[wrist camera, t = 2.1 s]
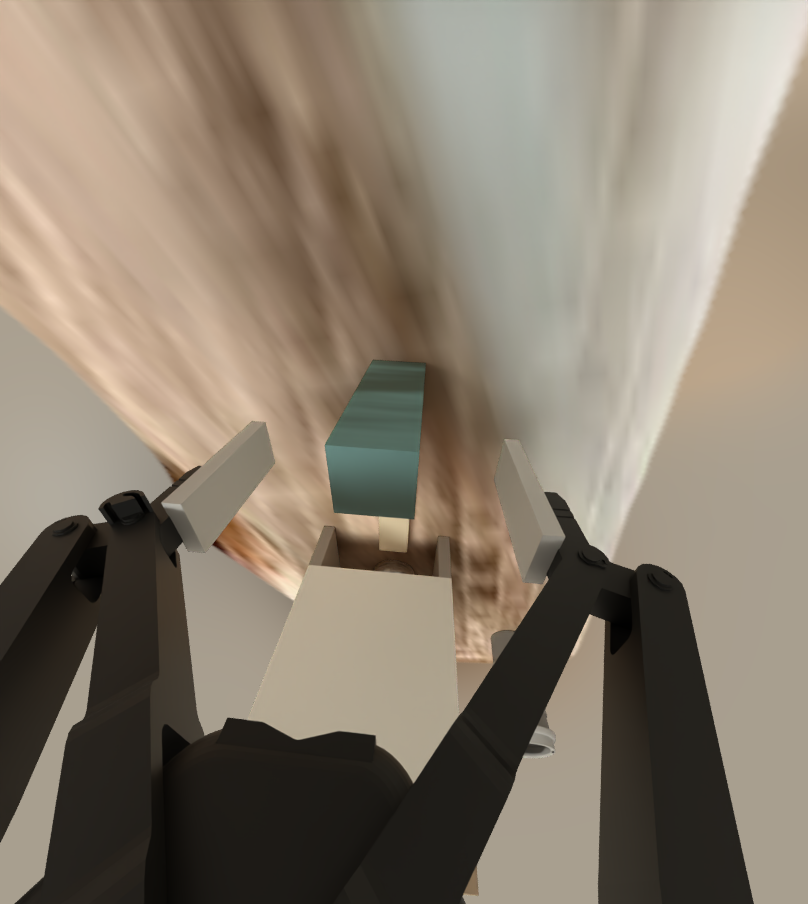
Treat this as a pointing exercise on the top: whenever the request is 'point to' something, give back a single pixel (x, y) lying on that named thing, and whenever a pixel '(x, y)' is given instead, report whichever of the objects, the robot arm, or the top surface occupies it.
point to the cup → (543, 735)
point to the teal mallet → (380, 449)
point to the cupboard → (367, 659)
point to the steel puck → (394, 567)
